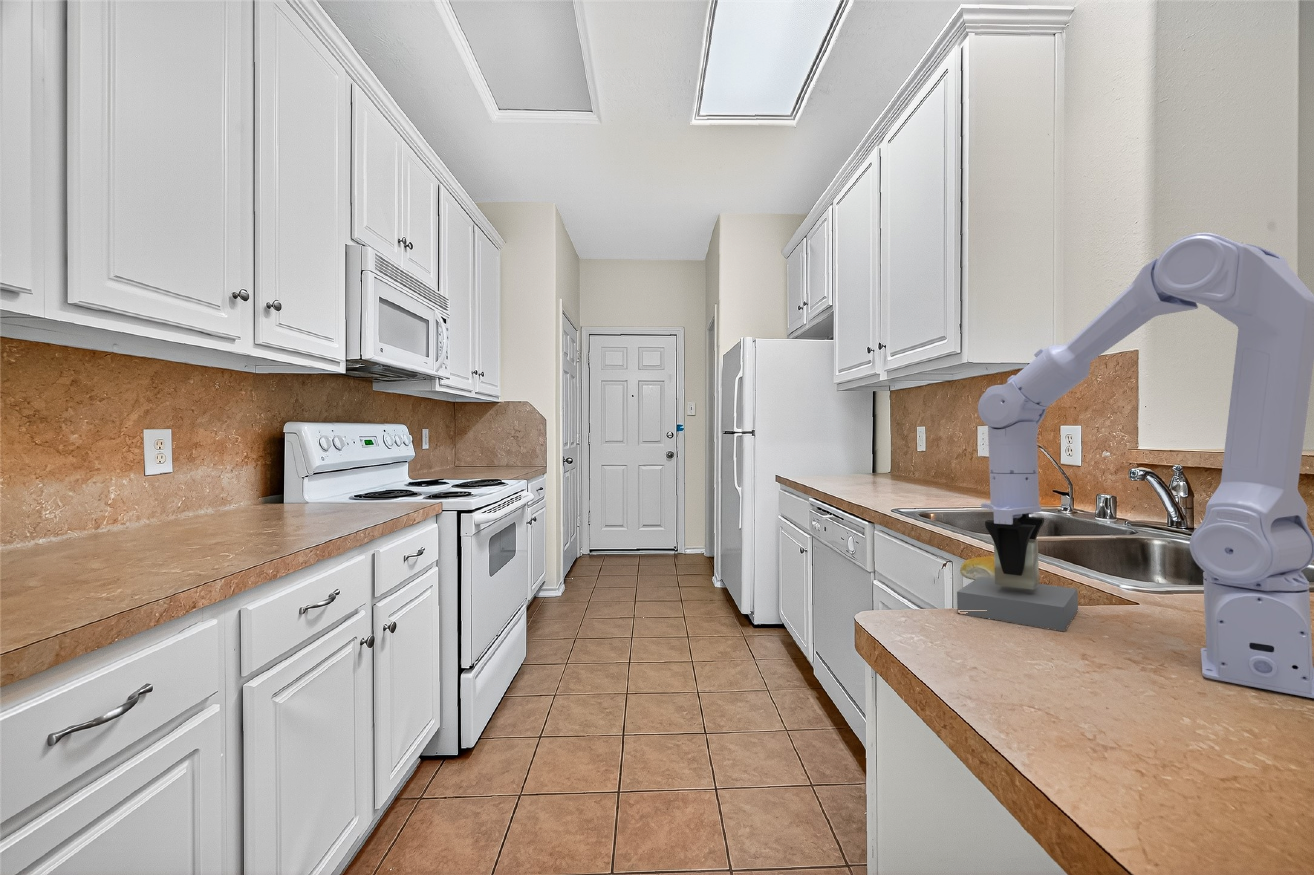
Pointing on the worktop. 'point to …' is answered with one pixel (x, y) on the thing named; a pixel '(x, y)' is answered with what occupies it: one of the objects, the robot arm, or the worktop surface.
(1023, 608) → the slate plinth
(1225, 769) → the worktop surface
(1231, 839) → the worktop surface
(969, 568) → the bread roll
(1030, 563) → the sage block
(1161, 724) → the worktop surface
